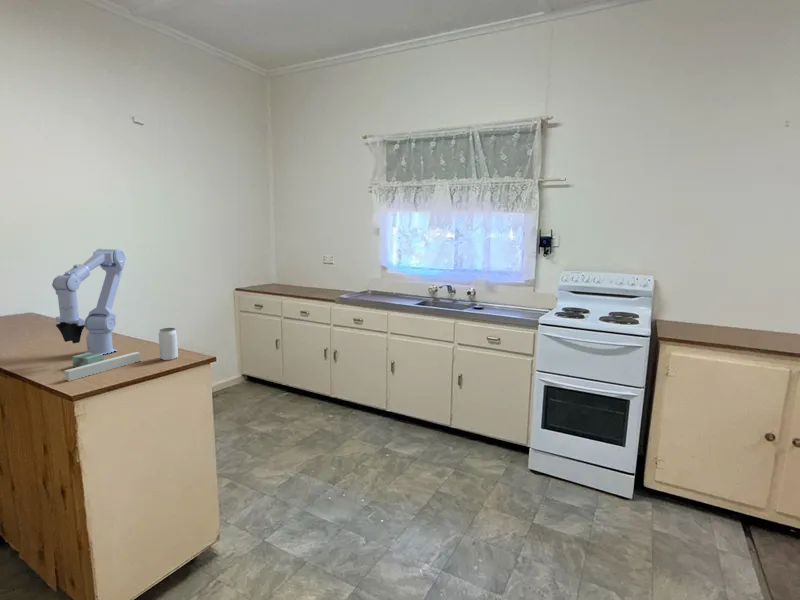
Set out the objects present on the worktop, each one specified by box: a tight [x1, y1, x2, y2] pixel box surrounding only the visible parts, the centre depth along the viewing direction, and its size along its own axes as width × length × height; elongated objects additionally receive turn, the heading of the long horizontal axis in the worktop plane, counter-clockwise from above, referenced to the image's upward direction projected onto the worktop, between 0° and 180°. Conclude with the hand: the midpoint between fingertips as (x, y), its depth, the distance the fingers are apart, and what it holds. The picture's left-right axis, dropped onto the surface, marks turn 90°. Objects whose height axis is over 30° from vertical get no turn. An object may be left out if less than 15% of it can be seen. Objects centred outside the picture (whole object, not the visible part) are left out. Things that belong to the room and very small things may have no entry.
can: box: [158, 327, 179, 361], centre depth 179 cm, size 6×6×12 cm
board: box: [63, 351, 142, 381], centre depth 164 cm, size 2×26×4 cm, turn 155°
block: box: [71, 352, 105, 367], centre depth 168 cm, size 8×6×4 cm
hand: (72, 341), depth 171 cm, fingers open, 4 cm apart
